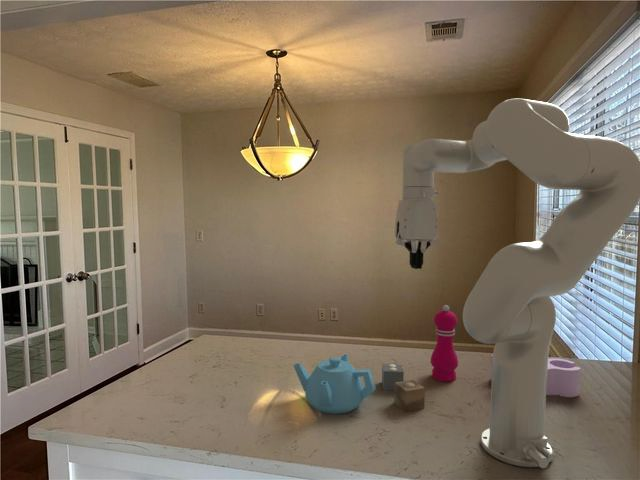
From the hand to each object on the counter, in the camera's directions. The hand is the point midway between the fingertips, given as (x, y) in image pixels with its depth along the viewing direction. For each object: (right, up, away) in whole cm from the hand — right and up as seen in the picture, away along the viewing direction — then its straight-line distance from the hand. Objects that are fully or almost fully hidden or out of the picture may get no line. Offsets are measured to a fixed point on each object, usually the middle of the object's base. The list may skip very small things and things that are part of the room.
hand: (416, 267), depth 109 cm
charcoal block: (-5, -31, +3) cm, 32 cm away
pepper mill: (+10, -31, +10) cm, 34 cm away
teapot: (-21, -32, -6) cm, 39 cm away
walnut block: (-3, -32, -7) cm, 33 cm away
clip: (+31, -32, +3) cm, 44 cm away
